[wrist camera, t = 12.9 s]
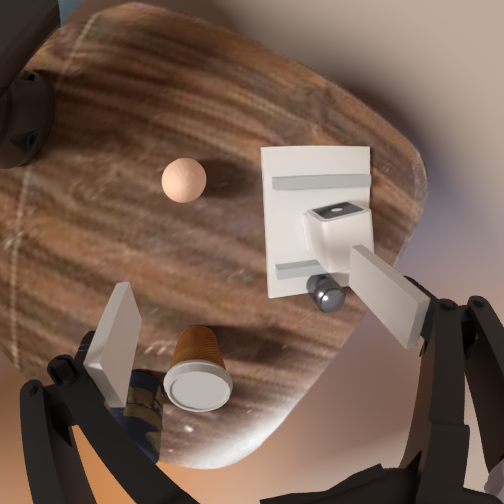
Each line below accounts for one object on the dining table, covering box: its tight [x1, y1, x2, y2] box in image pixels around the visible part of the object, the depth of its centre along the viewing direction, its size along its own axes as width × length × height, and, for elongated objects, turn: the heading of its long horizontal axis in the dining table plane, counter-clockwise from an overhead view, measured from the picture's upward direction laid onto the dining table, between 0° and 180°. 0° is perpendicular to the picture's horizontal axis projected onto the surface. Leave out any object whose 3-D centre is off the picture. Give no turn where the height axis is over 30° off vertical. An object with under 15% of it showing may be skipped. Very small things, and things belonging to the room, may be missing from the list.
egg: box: [162, 158, 206, 203], centre depth 33 cm, size 5×5×8 cm
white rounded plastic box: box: [302, 201, 374, 273], centre depth 36 cm, size 6×7×10 cm
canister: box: [109, 371, 164, 464], centre depth 40 cm, size 10×10×18 cm
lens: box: [306, 273, 346, 313], centre depth 42 cm, size 4×4×6 cm
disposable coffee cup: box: [164, 325, 233, 412], centre depth 40 cm, size 10×10×12 cm
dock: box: [260, 146, 371, 298], centre depth 40 cm, size 22×16×3 cm
